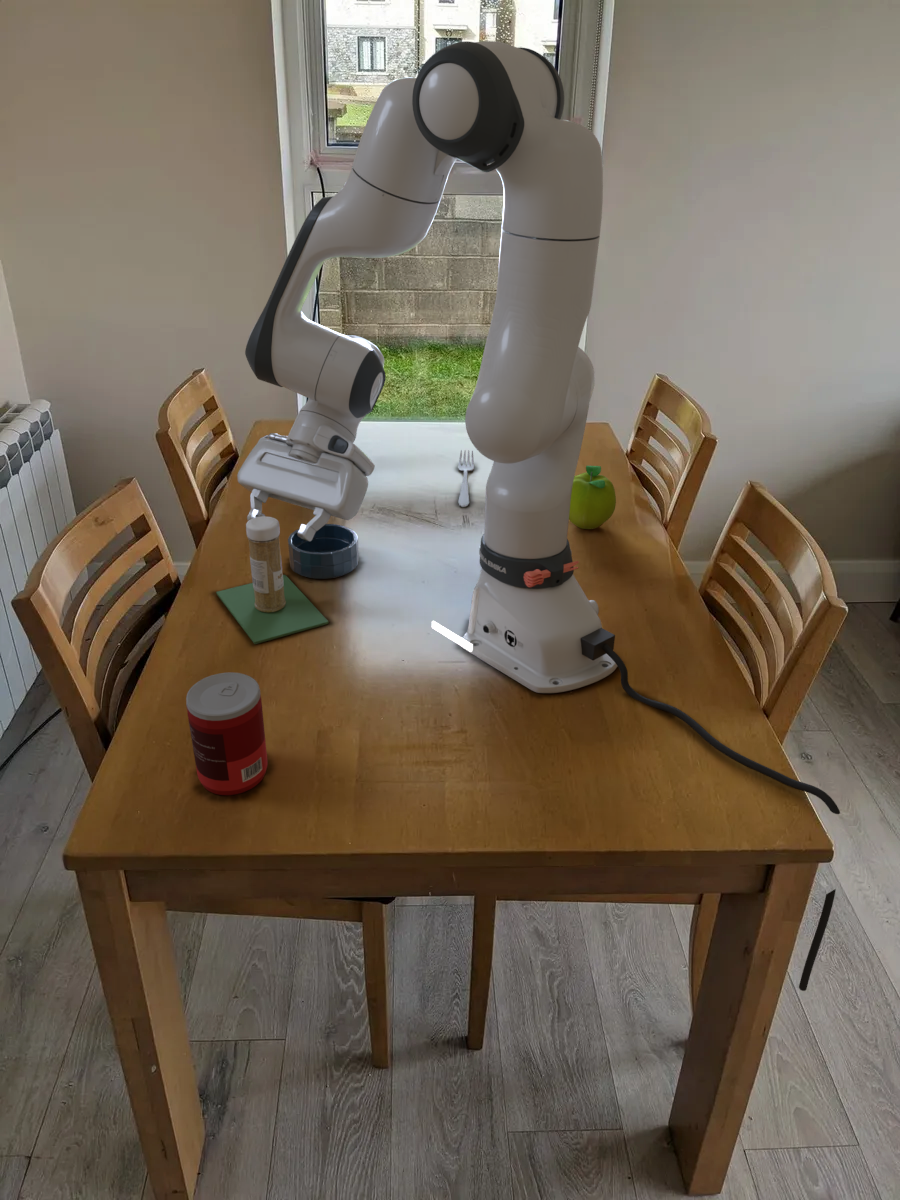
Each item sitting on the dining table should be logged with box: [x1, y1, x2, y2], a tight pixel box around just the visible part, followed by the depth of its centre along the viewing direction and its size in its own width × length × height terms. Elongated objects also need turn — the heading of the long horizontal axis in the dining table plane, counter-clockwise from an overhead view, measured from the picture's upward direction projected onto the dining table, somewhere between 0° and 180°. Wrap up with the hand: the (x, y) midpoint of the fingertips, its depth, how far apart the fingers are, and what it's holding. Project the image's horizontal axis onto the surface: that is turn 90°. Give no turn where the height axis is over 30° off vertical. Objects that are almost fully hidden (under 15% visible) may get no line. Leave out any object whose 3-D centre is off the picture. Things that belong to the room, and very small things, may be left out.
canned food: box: [185, 672, 269, 796], centre depth 100 cm, size 8×8×11 cm
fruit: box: [569, 465, 617, 530], centre depth 158 cm, size 9×9×10 cm
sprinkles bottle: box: [245, 515, 286, 613], centre depth 131 cm, size 5×5×14 cm
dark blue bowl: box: [287, 523, 360, 580], centre depth 145 cm, size 11×11×4 cm
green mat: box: [215, 574, 329, 645], centre depth 134 cm, size 16×11×1 cm
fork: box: [457, 449, 475, 508], centre depth 176 cm, size 3×24×2 cm, turn 178°
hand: (278, 530), depth 130 cm, fingers open, 8 cm apart
